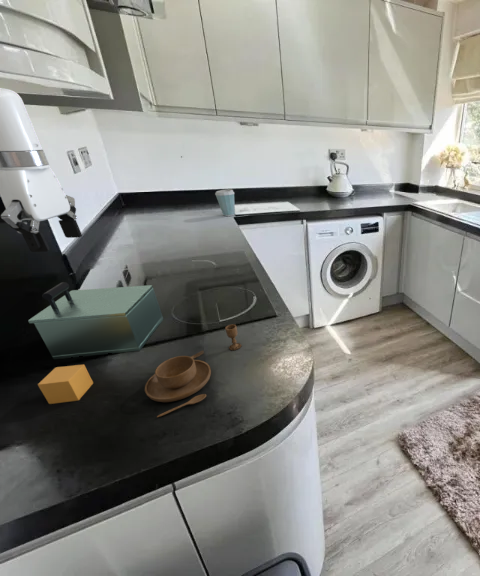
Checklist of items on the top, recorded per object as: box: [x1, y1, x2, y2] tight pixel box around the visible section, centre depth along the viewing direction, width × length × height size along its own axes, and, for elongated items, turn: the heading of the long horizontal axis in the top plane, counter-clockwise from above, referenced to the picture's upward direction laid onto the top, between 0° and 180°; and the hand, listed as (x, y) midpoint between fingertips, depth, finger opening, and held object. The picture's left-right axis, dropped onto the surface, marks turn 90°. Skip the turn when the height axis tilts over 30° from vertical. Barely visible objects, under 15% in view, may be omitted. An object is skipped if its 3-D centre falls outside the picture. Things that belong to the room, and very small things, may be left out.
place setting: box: [144, 323, 242, 418], centre depth 69 cm, size 18×20×6 cm
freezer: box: [33, 287, 164, 360], centre depth 81 cm, size 18×15×10 cm
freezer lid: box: [28, 281, 154, 324], centre depth 77 cm, size 19×15×5 cm
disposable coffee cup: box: [214, 188, 236, 217], centre depth 197 cm, size 11×11×15 cm
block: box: [37, 364, 94, 405], centre depth 64 cm, size 5×5×5 cm
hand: (58, 243), depth 71 cm, fingers open, 9 cm apart
